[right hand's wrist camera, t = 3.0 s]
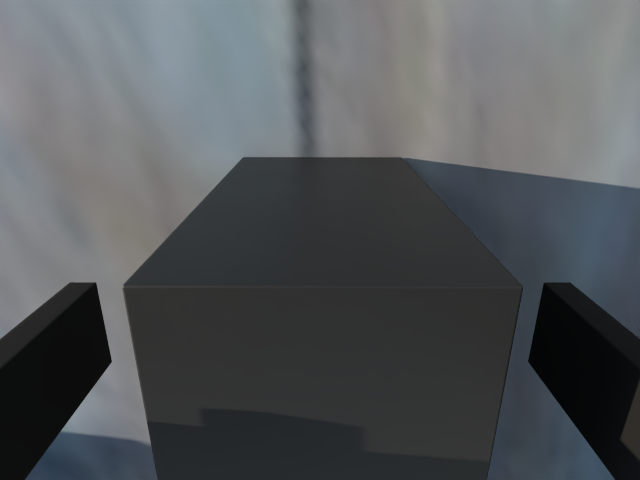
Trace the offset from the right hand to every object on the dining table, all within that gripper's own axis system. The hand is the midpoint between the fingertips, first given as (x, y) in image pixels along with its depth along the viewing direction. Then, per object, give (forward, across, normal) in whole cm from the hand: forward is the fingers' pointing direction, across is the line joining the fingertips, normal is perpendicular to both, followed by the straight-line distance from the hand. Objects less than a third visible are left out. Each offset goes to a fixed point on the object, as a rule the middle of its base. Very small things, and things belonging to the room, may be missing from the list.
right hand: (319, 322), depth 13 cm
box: (+7, 0, -9) cm, 11 cm away
